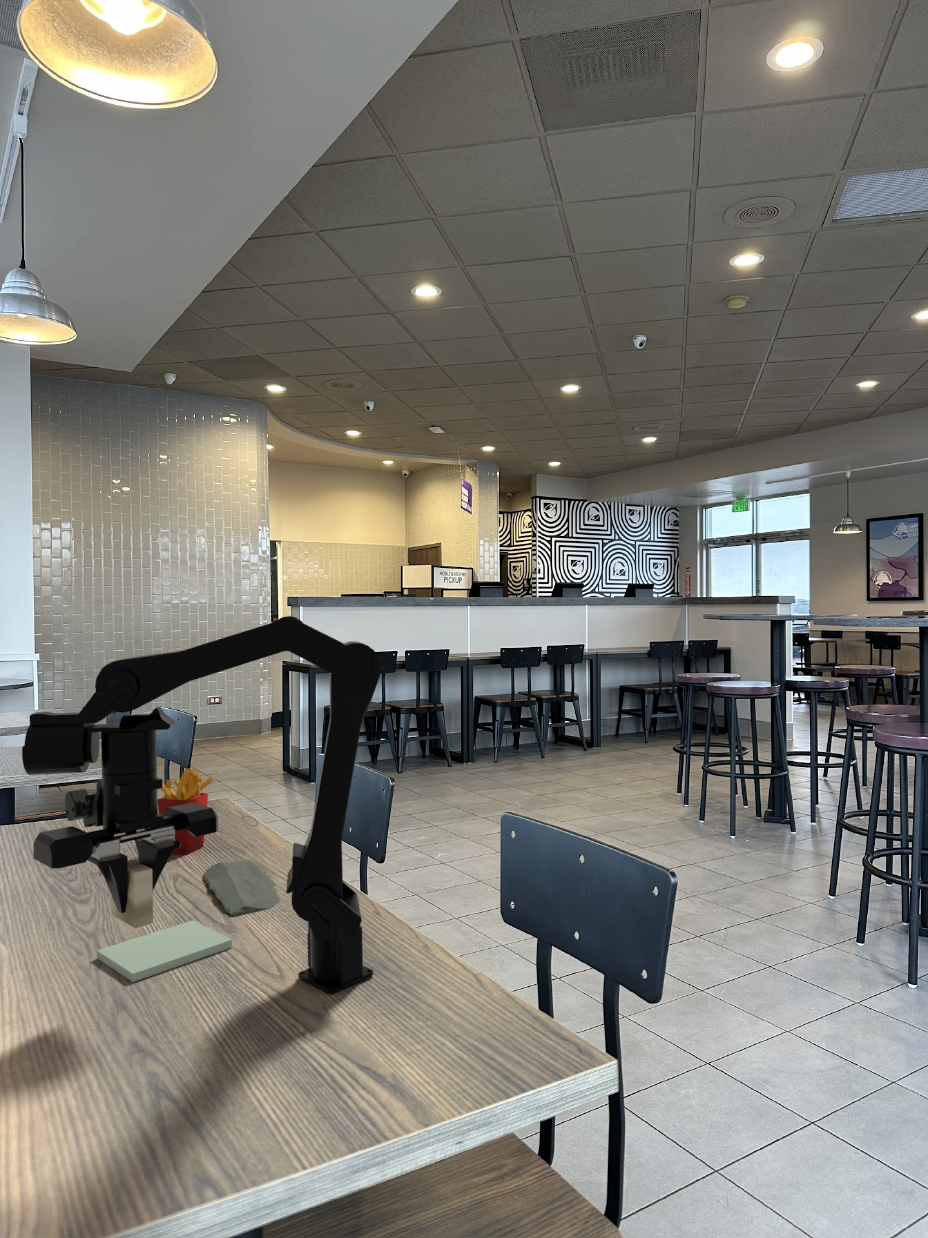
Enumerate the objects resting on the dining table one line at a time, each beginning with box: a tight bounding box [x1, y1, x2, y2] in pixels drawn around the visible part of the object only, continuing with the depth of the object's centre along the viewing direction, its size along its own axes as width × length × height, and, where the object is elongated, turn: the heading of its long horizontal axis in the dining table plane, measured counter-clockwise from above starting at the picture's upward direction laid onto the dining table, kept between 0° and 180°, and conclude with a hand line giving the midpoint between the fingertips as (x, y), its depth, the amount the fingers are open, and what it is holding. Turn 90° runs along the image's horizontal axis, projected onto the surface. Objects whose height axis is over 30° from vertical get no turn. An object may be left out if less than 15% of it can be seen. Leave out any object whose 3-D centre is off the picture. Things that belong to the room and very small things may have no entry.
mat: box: [96, 920, 233, 983], centre depth 103 cm, size 10×13×1 cm
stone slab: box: [201, 859, 281, 917], centre depth 127 cm, size 22×3×10 cm
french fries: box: [157, 767, 214, 856], centre depth 149 cm, size 9×8×15 cm
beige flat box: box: [110, 858, 154, 929], centre depth 91 cm, size 6×2×6 cm, turn 47°
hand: (132, 909), depth 91 cm, fingers closed on beige flat box, 2 cm apart
